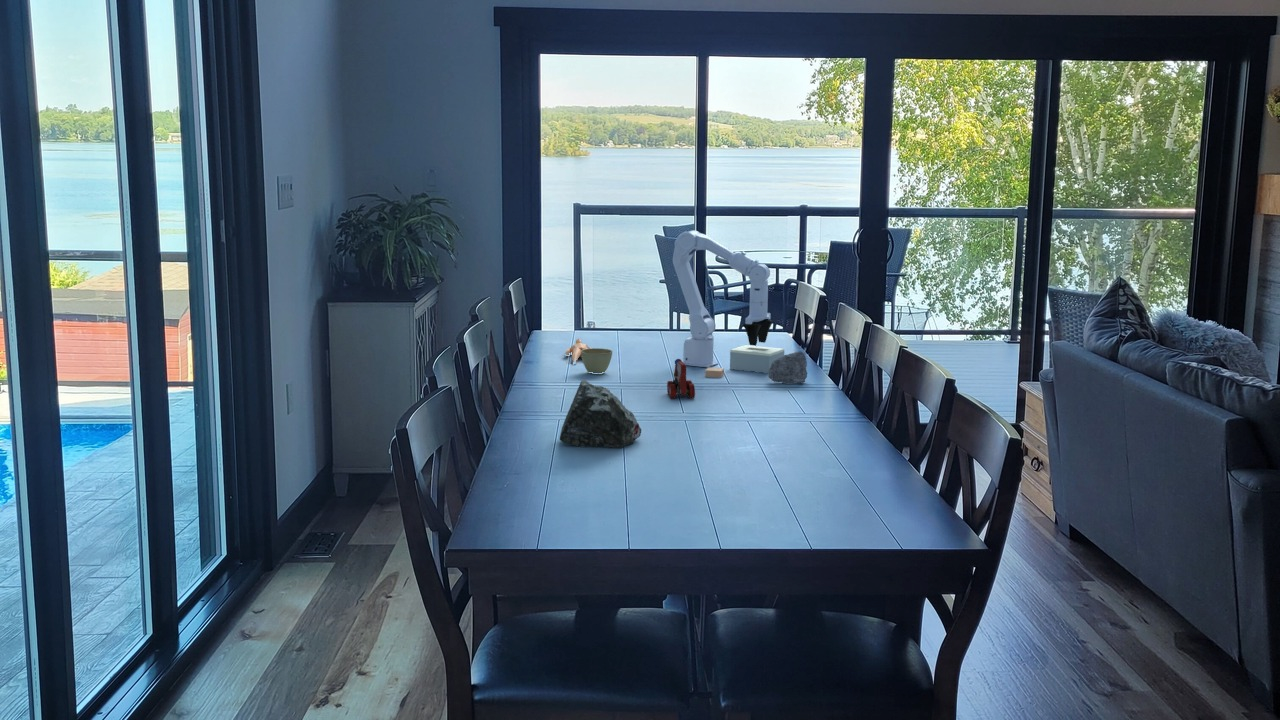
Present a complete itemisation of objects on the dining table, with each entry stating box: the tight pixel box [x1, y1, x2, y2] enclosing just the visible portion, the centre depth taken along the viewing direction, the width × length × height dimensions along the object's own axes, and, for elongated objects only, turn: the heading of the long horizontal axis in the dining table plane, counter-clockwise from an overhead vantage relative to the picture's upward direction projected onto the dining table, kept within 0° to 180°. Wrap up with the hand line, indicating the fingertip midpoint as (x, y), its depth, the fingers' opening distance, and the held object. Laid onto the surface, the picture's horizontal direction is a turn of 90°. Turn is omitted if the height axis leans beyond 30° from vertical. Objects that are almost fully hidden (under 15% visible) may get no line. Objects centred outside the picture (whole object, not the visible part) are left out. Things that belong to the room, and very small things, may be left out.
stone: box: [559, 379, 642, 449], centre depth 255 cm, size 19×18×15 cm
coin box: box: [729, 344, 785, 374], centre depth 351 cm, size 14×11×6 cm
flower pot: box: [580, 347, 613, 373], centre depth 341 cm, size 10×10×7 cm
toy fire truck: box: [666, 358, 696, 400], centre depth 308 cm, size 7×12×10 cm, turn 6°
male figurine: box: [564, 338, 591, 362], centre depth 368 cm, size 11×5×25 cm
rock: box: [767, 350, 808, 384], centre depth 328 cm, size 12×5×10 cm, turn 87°
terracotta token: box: [704, 366, 725, 379], centre depth 339 cm, size 5×5×2 cm
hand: (757, 343), depth 350 cm, fingers open, 6 cm apart
